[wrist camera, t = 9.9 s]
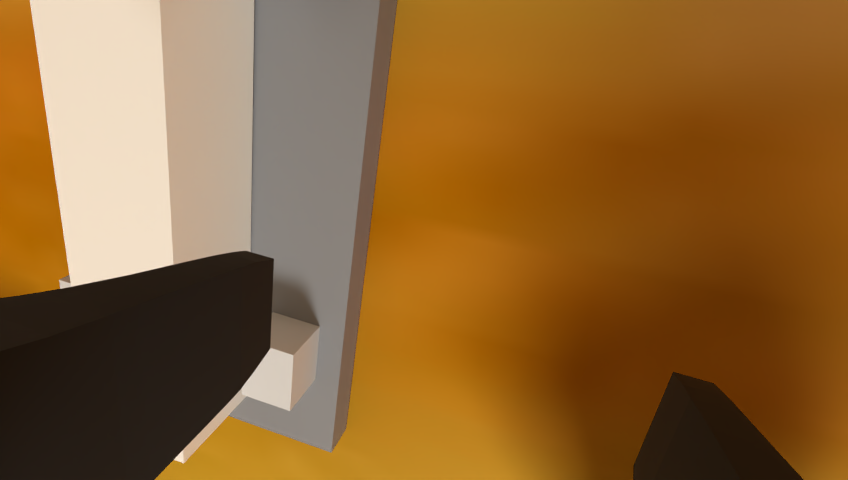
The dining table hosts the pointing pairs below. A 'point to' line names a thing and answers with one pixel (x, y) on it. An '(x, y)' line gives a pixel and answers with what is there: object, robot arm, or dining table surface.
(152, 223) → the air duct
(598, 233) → the dining table surface
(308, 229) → the collar stand
